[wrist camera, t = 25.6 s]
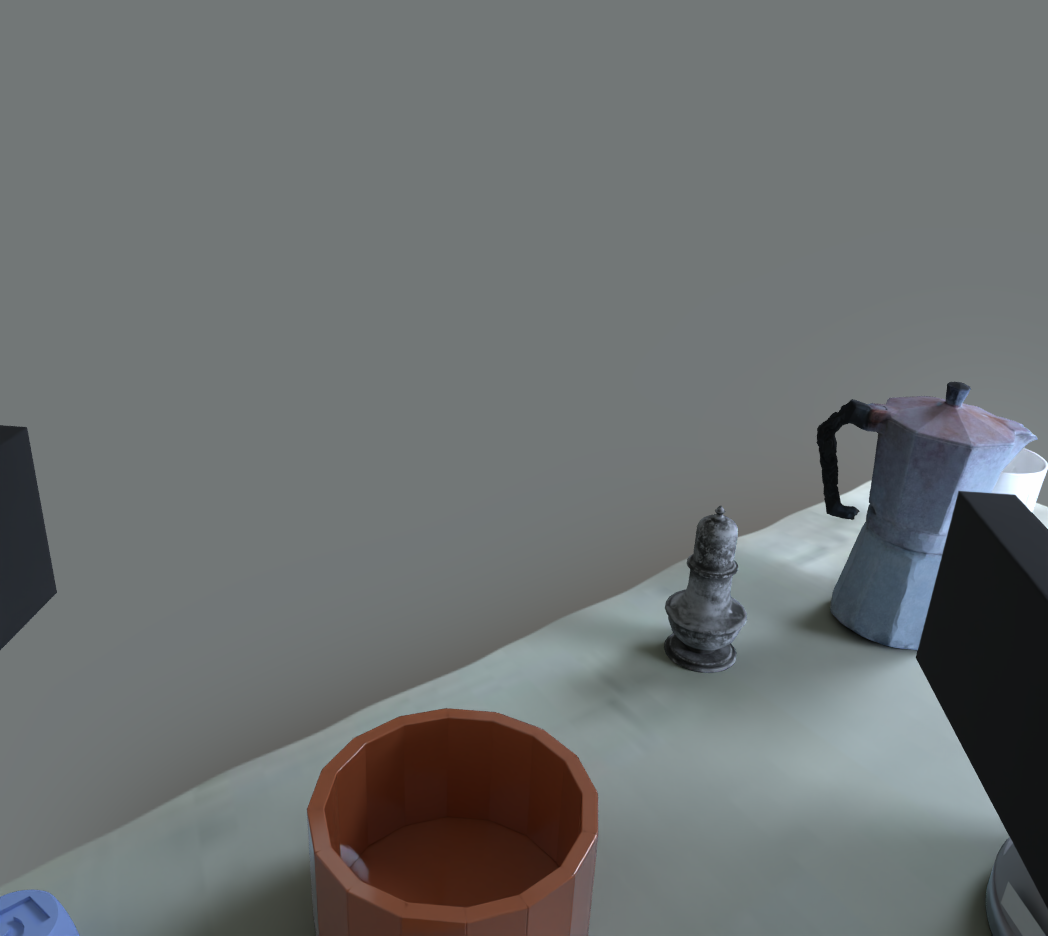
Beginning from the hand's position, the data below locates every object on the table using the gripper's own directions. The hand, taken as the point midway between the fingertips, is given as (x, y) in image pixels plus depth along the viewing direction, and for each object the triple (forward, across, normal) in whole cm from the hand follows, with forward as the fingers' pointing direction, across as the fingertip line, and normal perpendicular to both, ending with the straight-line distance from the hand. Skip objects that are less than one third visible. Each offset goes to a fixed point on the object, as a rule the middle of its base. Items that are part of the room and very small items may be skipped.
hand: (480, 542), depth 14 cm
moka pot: (+54, +27, -34) cm, 69 cm away
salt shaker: (+48, +12, -34) cm, 60 cm away
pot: (+23, -3, -34) cm, 41 cm away
